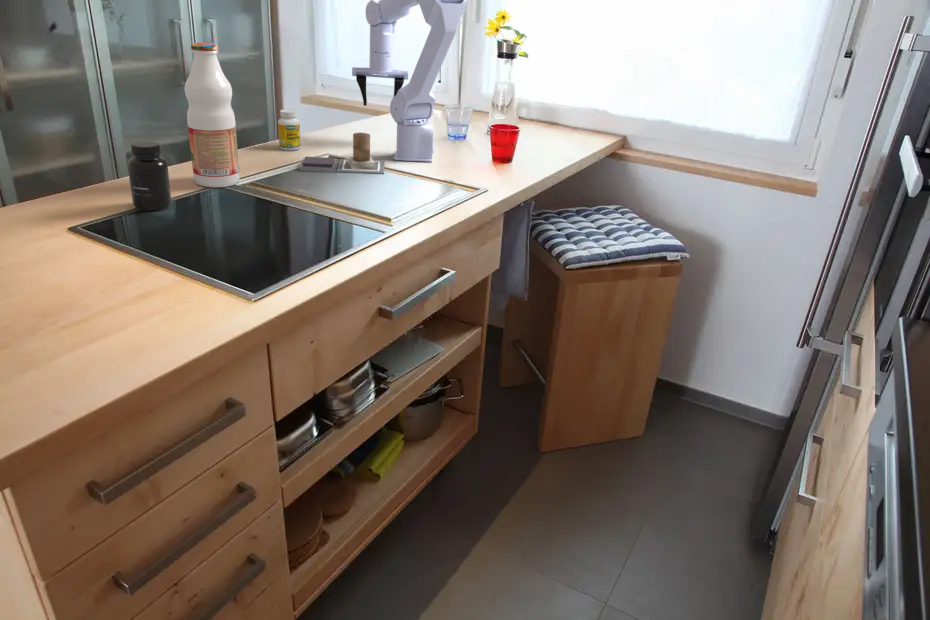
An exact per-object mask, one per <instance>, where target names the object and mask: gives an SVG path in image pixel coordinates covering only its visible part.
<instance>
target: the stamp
mask: <svg viewBox="0 0 930 620" xmlns="http://www.w3.org/2000/svg"><path fill="white" fill-rule="evenodd" d="M348 163H349V165H350V166H351V168H352V169H375V162H374V158H372V156H371V134H370V133H368V132H354V133H353V134H352V156H348Z"/></svg>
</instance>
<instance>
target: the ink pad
mask: <svg viewBox="0 0 930 620" xmlns="http://www.w3.org/2000/svg"><path fill="white" fill-rule="evenodd" d="M337 165H338V160H337V159H335V157H324V156H323V157H321V156H305V157H304V158H302V161H301V163H300V165H299V171H300V172H301V171H303V172H304V171H305V172H320V173H321V172H325V173H335V172H336V170H337V169H336V168H337V167H338V166H337Z"/></svg>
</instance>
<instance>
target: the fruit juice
mask: <svg viewBox="0 0 930 620" xmlns="http://www.w3.org/2000/svg"><path fill="white" fill-rule="evenodd" d="M190 47H191V48H190V49H191V53H193V54H192V55H193V59H192V64H191V69H190V73H189V75H188V77H187V79H186V81H185V82H184V83H185V84H184V94H185V97H186V99H187V103H188V109H187V111H186V121H187V129H188V138H189V139H188V140H189V148H190V156H191V165H192V175H193V180H194V183H195V184H196V185H198V186H200V187H204V186H205V187H204V188H227V187H231V186H232V187H233V186H234V185H235V186H236V185H237V184H238V183H240V180H241V179H240V178H241V174H240V172H241V171H240V164H239V163H240V162H239V149H238V138H237V137H238V136H237V124H236V116H235V113H234V110H233V108H232V100H233V99H232V98H233V88H232V85H231V83H230V82H229V80H228V78H227V77H226V75H225V74H224V72H223V70H222V67H221V64H220V63H219V60H218V56H217V54H218V50H219V49H218V45H217V43H213V42H192V43H191V44H190Z"/></svg>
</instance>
